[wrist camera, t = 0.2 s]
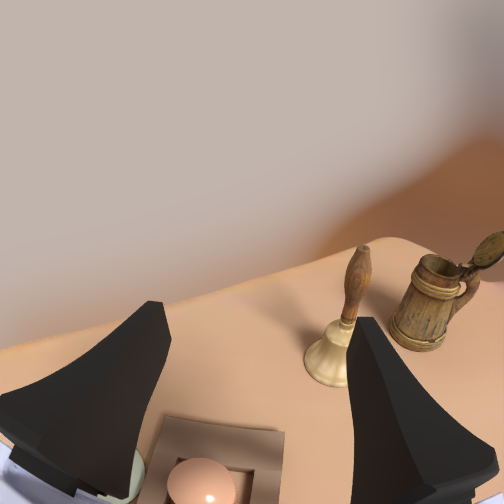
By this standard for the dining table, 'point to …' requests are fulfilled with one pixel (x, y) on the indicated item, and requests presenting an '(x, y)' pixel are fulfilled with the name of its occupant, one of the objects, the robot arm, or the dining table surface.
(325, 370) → the hand bell
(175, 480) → the peach rounded piece
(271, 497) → the walnut stand
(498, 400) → the dining table surface
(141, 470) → the sage mat
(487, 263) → the wooden mug
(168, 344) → the robot arm
